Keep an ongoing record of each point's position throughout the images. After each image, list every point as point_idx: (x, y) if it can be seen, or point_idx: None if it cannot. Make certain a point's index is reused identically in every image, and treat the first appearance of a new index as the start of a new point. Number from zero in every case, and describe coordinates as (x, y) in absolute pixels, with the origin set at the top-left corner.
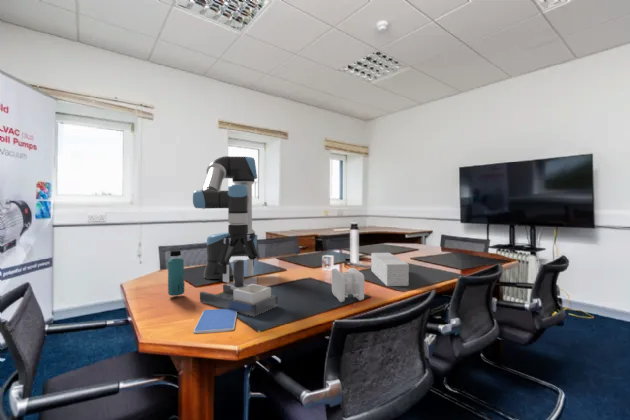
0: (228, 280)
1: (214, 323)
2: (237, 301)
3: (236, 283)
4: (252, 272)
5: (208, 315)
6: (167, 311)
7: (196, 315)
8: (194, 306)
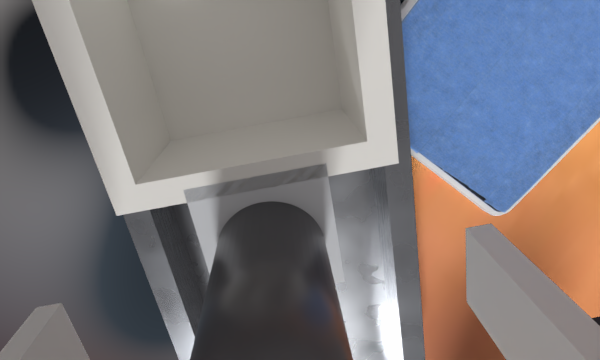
0: (488, 239)
1: None
2: (396, 46)
3: (322, 243)
4: (26, 336)
5: (554, 110)
6: None
7: (561, 189)
8: (472, 320)
